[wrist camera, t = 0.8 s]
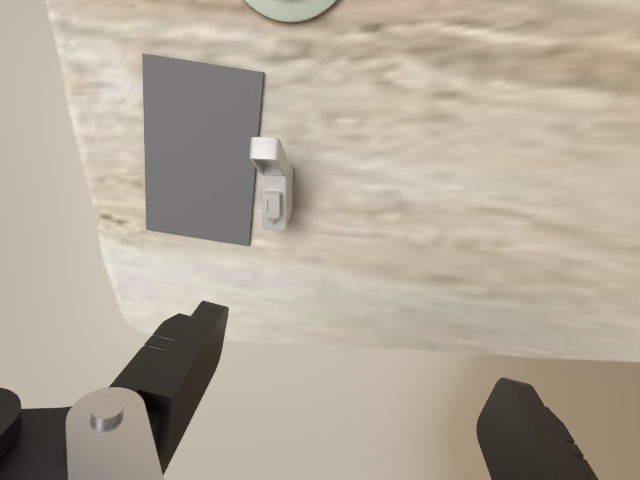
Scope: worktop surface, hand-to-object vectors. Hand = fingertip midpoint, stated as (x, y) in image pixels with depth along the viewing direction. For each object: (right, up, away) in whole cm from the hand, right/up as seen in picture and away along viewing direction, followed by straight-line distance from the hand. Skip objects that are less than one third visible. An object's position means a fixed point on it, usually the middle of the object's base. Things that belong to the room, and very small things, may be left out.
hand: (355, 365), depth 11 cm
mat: (-11, +10, +20) cm, 25 cm away
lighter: (-4, +9, +21) cm, 23 cm away
